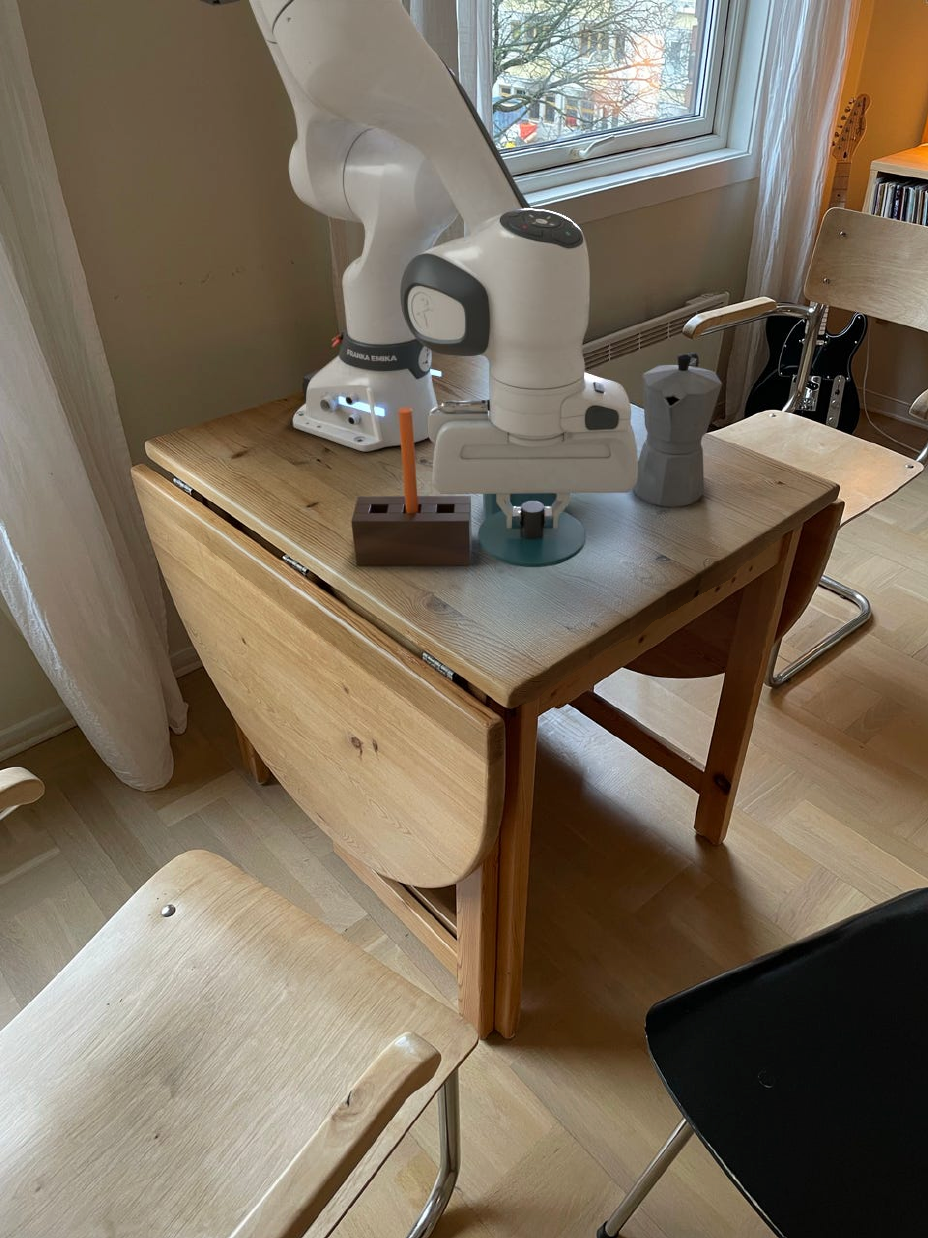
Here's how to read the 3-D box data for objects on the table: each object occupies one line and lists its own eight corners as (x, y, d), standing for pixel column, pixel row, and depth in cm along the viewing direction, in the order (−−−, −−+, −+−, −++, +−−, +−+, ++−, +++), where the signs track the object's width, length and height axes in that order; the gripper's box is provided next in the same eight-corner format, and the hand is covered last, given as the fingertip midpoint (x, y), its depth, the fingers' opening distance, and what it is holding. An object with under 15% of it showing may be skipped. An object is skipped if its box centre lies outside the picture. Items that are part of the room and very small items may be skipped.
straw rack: (362, 539, 107) (357, 496, 104) (471, 539, 107) (470, 495, 103) (356, 565, 103) (351, 521, 99) (470, 565, 102) (469, 521, 99)
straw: (407, 554, 105) (396, 411, 94) (412, 548, 106) (402, 406, 95) (417, 556, 104) (407, 413, 93) (423, 550, 105) (414, 408, 94)
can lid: (520, 585, 87) (521, 548, 85) (457, 535, 95) (456, 500, 92) (607, 548, 92) (610, 512, 89) (541, 504, 99) (542, 469, 97)
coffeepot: (695, 521, 109) (717, 380, 98) (619, 508, 111) (632, 370, 100) (715, 464, 120) (736, 332, 109) (645, 454, 123) (660, 324, 112)
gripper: (423, 415, 81) (430, 543, 90) (648, 413, 81) (633, 541, 89) (427, 387, 86) (433, 510, 95) (639, 385, 86) (626, 509, 94)
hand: (532, 526), depth 92 cm, fingers closed on can lid, 2 cm apart
